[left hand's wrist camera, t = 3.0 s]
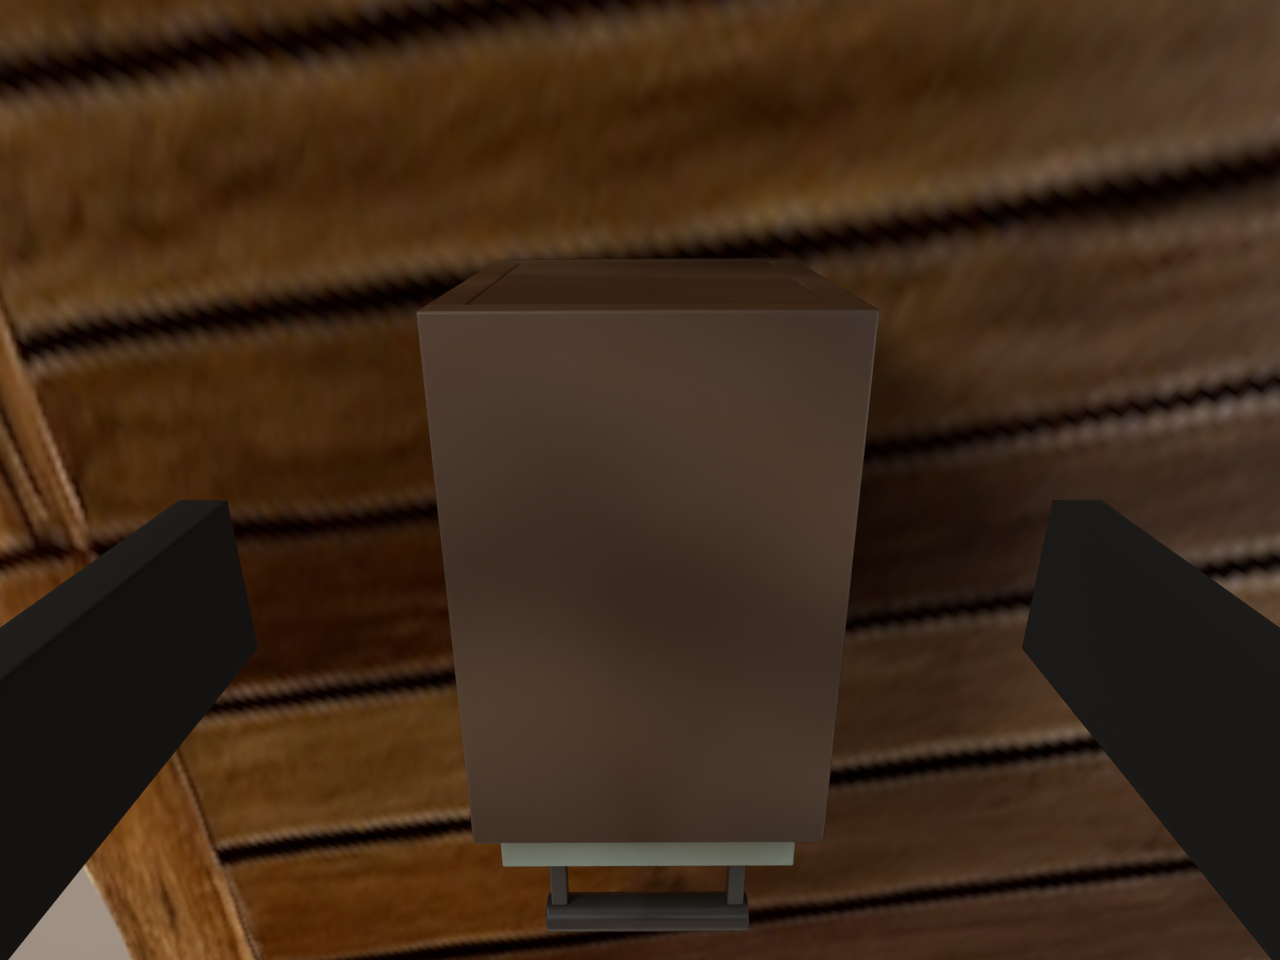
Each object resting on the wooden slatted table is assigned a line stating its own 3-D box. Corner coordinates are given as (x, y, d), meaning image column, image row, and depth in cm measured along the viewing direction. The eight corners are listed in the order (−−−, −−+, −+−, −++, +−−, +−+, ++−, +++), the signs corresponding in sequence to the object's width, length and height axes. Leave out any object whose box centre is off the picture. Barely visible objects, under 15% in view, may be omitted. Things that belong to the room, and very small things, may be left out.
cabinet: (767, 637, 34) (823, 843, 24) (523, 639, 34) (472, 844, 24) (791, 257, 28) (880, 308, 18) (497, 259, 28) (415, 311, 18)
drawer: (748, 799, 36) (782, 995, 28) (544, 799, 36) (514, 995, 28) (774, 353, 29) (832, 431, 20) (516, 354, 29) (462, 433, 20)
